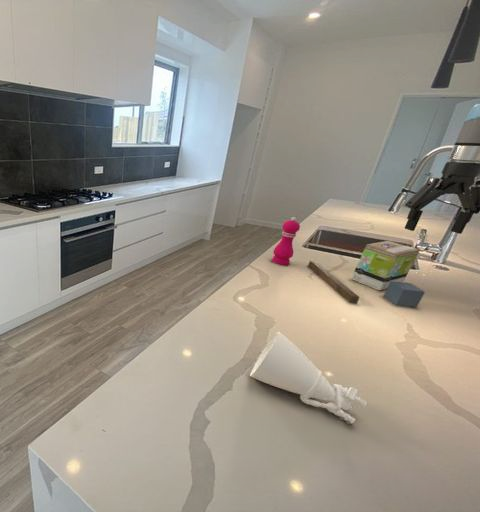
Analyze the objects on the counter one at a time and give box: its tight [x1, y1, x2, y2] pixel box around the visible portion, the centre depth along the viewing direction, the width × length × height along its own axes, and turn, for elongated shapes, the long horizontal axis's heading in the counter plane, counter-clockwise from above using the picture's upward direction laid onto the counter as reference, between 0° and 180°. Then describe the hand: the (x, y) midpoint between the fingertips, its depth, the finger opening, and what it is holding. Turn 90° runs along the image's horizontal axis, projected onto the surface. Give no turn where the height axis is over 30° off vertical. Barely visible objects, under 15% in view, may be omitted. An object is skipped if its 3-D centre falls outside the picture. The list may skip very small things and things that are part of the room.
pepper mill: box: [271, 216, 301, 266], centre depth 124 cm, size 7×7×20 cm
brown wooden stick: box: [307, 260, 360, 305], centre depth 111 cm, size 30×2×2 cm, turn 169°
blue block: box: [383, 281, 426, 309], centre depth 99 cm, size 6×6×6 cm
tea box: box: [350, 240, 420, 291], centre depth 110 cm, size 15×10×15 cm
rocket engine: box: [249, 331, 368, 424], centre depth 61 cm, size 12×12×18 cm
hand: (432, 231), depth 95 cm, fingers open, 13 cm apart
